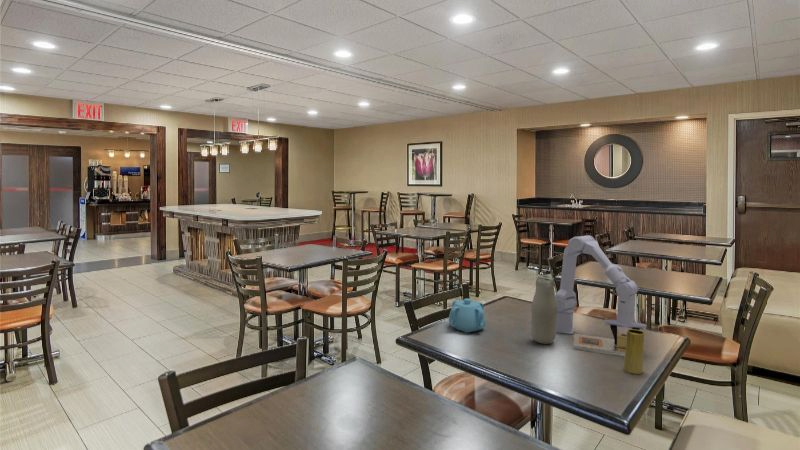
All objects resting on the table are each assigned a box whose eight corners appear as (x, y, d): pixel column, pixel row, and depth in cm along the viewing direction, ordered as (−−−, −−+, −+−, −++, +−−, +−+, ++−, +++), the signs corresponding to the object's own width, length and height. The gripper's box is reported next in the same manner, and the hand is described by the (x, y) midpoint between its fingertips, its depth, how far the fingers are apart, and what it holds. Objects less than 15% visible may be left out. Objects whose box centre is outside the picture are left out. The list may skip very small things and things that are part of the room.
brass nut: (616, 351, 176) (617, 336, 176) (615, 346, 181) (616, 332, 180) (630, 353, 174) (631, 338, 174) (629, 348, 179) (630, 333, 178)
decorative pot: (487, 325, 206) (488, 296, 205) (483, 336, 191) (483, 305, 190) (452, 321, 211) (453, 293, 210) (445, 332, 196) (446, 302, 195)
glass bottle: (556, 340, 187) (560, 274, 184) (554, 348, 178) (557, 279, 175) (532, 336, 191) (535, 272, 188) (528, 344, 182) (531, 277, 179)
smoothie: (627, 331, 199) (629, 301, 197) (633, 337, 192) (635, 305, 191) (612, 331, 199) (614, 300, 198) (617, 336, 193) (619, 304, 191)
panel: (573, 349, 178) (573, 345, 178) (574, 337, 191) (574, 333, 191) (642, 359, 169) (643, 355, 169) (639, 345, 182) (639, 342, 182)
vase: (620, 367, 161) (622, 328, 160) (636, 366, 162) (638, 328, 160) (630, 374, 155) (632, 334, 154) (646, 374, 156) (649, 334, 154)
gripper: (605, 311, 175) (603, 345, 177) (647, 316, 170) (645, 351, 171) (605, 307, 182) (603, 339, 183) (645, 311, 176) (643, 345, 178)
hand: (623, 344), depth 178 cm, fingers closed on brass nut, 5 cm apart
